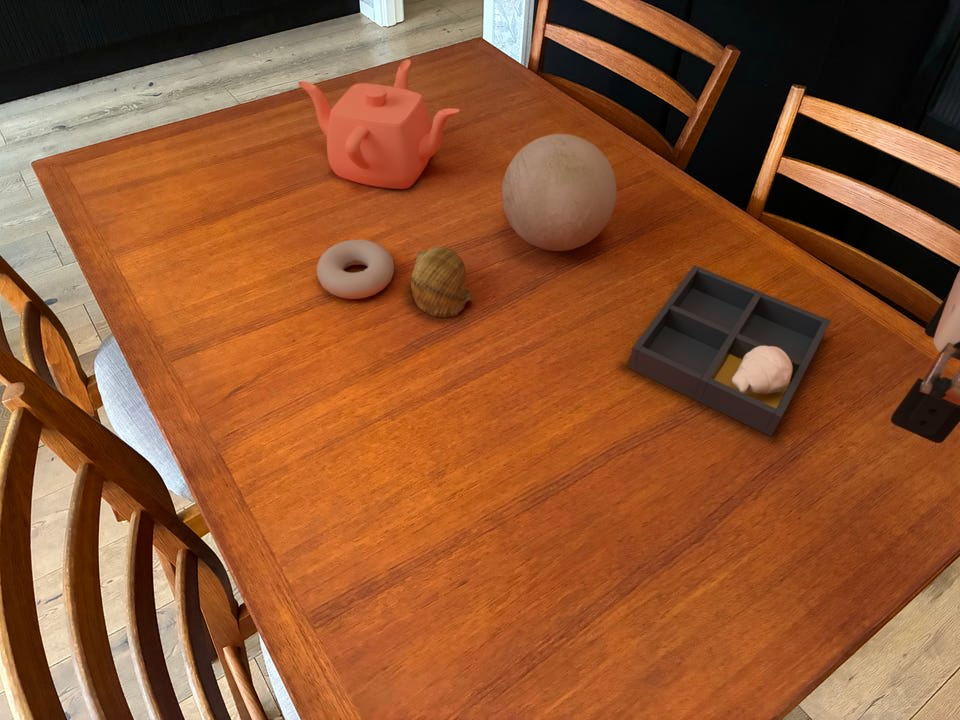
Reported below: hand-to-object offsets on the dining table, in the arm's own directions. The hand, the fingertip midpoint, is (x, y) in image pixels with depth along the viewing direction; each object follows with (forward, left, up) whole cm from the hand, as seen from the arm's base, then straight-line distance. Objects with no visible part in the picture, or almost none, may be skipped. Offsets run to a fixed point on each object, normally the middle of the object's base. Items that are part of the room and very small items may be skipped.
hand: (931, 383), depth 50 cm
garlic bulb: (+12, -16, -26) cm, 33 cm away
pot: (+75, -29, -26) cm, 85 cm away
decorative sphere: (+44, -28, -26) cm, 58 cm away
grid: (+16, -21, -26) cm, 37 cm away
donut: (+61, -6, -26) cm, 67 cm away
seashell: (+50, -10, -26) cm, 57 cm away
